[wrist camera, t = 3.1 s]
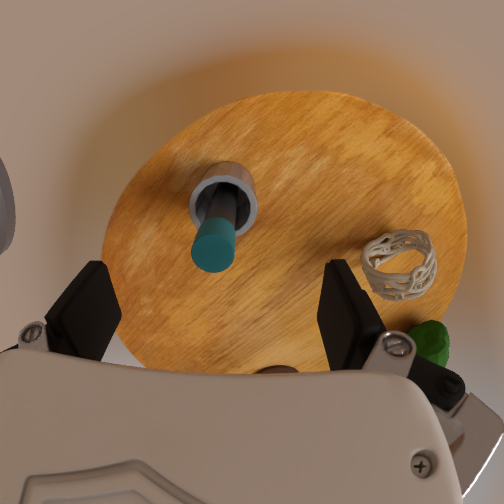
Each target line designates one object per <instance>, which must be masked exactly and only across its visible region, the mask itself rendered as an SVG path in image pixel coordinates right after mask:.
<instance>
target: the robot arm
mask: <svg viewBox="0 0 504 504" xmlns="http://www.w3.org/2000/svg"><path fill="white" fill-rule="evenodd" d="M121 317H122V313H121V309H120V307H119V304H118V301H117V298H116V295H115V292H114V288H113V285H112V282H111V279H110V275H109V272H108V269H107V266H106V264H104V263H103V262H102V261H89V262H88V263H87V264H86V266H85V267H84V268H83V269H82V270H81V271H80V272H79V274H78V275H77V276H76V277H75V278H74V280H73V281H72V282H71V283H70V285H69V286H68V287H67V288H66V289H65V291H64V292H63V293H62V295H61V296H60V297H59V298H58V299H57V301H56V302H55V303H54V305H53V306H52V307H51V309H50V310H49V311H48V313H47V314H46V315H45V317H44V318H45V320H46V322H47V324H46V325H44V324H43V323H42V322H39V321H37V322H36V321H35V322H32V323H30V324H28V325H26V326H25V327H24V328H23V329H22V330H21V332H20V334H19V337H18V344H17V345H15V346H13V347H11V348H8V349H6V350H4V351H3V352H0V504H464V503H463V498H464V497H465V495H466V494H467V493H468V491H469V490H470V489H471V487H472V486H473V484H474V483H475V481H476V480H477V478H478V477H479V475H480V474H481V472H482V471H483V469H484V468H485V466H486V464H487V463H488V461H489V460H490V458H491V456H492V454H493V453H494V451H495V449H496V447H497V445H498V444H499V442H500V440H501V438H502V436H503V433H504V423H503V420H502V419H501V418H500V417H499V416H498V415H497V414H496V413H495V412H494V411H493V410H491V409H490V408H489V407H488V406H487V405H485V404H484V403H483V402H482V401H481V400H480V399H478V398H477V397H476V396H475V395H473V394H472V393H470V394H469V395H468V394H467V393H466V392H465V384H464V381H463V380H462V378H461V377H460V376H459V375H458V374H456V373H455V372H453V371H451V370H449V369H446V368H444V367H442V366H440V365H438V364H436V363H434V362H431V361H429V360H427V359H425V358H423V357H421V356H419V355H417V354H415V353H416V344H415V342H414V341H413V339H412V338H411V337H410V336H409V335H407V334H405V333H404V332H401V331H397V330H390V331H387V330H386V328H385V326H384V324H383V322H382V320H381V318H380V316H379V314H378V312H377V311H376V309H375V307H374V305H373V303H372V301H371V299H370V298H369V296H368V294H367V292H366V291H365V290H362V289H361V287H360V285H359V283H358V282H357V280H356V278H355V276H354V275H353V273H352V271H351V269H350V267H349V266H348V264H347V262H346V261H345V259H331V260H330V263H326V265H325V270H324V277H323V283H322V289H321V295H320V301H319V307H318V312H317V322H318V326H319V329H320V333H321V336H322V340H323V344H324V347H325V351H326V355H327V359H328V362H329V366H330V370H331V371H319V372H302V373H276V374H220V373H197V372H182V371H169V370H159V369H149V368H141V367H133V366H125V365H119V364H112V363H105V362H101V359H102V357H103V355H104V353H105V351H106V349H107V347H108V344H109V342H110V340H111V338H112V336H113V334H114V332H115V330H116V328H117V326H118V324H119V322H120V320H121Z"/></svg>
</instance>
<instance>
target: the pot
mask: <svg viewBox="0 0 504 504" xmlns="http://www.w3.org/2000/svg"><path fill="white" fill-rule="evenodd" d="M219 182H229V183H232V184H234V185H237V186H238V198H237V208H236V219H235V232H236V237H238V236H240V235H242V234H244V233H245V232H246V231H247V230H248V229H249V228H250V227H251V226H252V225H253V222H254V220H255V218H256V216H257V198H256V190H255V183H254V180H253V177H252V176H251V174H250V172H249V171H248V170H247V169H246V168H245V167H243V166H242V165H240V164H238V163H235V162H221V163H218V164H215V165H214V166H212V167H211V168H210V169H208V170H207V172H206V173H205V174H204V175H203V177H202V178H201V180H200V181H199V183H198V184H197V186H196V187H195V189H194V190H193V192H192V195H191V198H190V201H189V213H190V217H191V219H192V221H193V223H194V225H195V226H196V228H198V229H199V227H200V225H201V224H202V223H203V221H204V218H205V215H206V213H207V210H208V207H209V205H210V202H211V200H212V197H213V194H214V192H215V189H216V187H217V184H218V183H219Z"/></svg>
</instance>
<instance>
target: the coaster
mask: <svg viewBox="0 0 504 504" xmlns="http://www.w3.org/2000/svg"><path fill="white" fill-rule="evenodd" d="M276 373H299V372H298V371H297V370H296V369H294V368H292V367H289V366H272V367H268V368H265V369H263V370H261V371H260V372H259V373H257V374H276Z"/></svg>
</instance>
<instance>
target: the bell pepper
mask: <svg viewBox="0 0 504 504" xmlns="http://www.w3.org/2000/svg"><path fill="white" fill-rule="evenodd" d="M407 335H409V336H410V337H411V338H412V339H413V341H414V342H415V344H416V353H415V354H417V355H419V356H421V357H423V358H425V359H427V360H429V361H431V362H434V363H436V364H438V365H440V366H442V367H444V368H445V366H446V364H447V361H448V358H449V335H448V332H447V328H446V327H445V326H444V325H443V324H442V323H441V322H438V321H434V320H429V321H426V322H423V323H422V325H417V326H415V327H414V328H413V329H411V330H410V331H409V333H408V334H407Z"/></svg>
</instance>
